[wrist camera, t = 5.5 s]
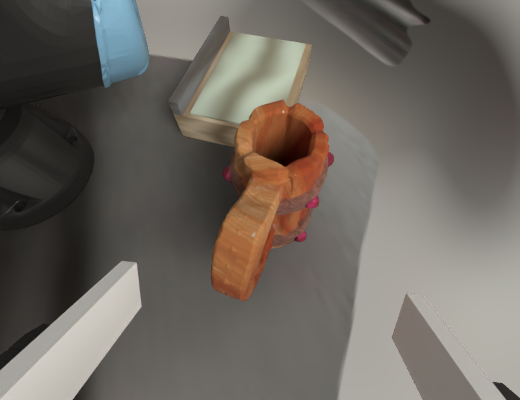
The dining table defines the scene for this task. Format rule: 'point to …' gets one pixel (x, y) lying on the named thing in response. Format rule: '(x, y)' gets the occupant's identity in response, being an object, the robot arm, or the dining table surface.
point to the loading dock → (236, 82)
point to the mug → (269, 191)
